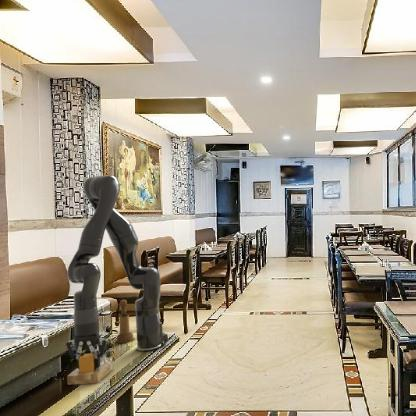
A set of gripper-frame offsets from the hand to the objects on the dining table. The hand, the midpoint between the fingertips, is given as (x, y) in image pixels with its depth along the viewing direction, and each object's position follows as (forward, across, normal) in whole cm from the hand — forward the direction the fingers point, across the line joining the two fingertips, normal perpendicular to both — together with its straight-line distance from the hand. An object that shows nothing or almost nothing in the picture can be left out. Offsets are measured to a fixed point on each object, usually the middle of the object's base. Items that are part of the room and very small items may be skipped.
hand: (89, 368), depth 149 cm
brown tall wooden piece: (+3, +3, -40) cm, 40 cm away
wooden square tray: (+3, 0, 0) cm, 3 cm away
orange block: (0, 0, 0) cm, 0 cm away
